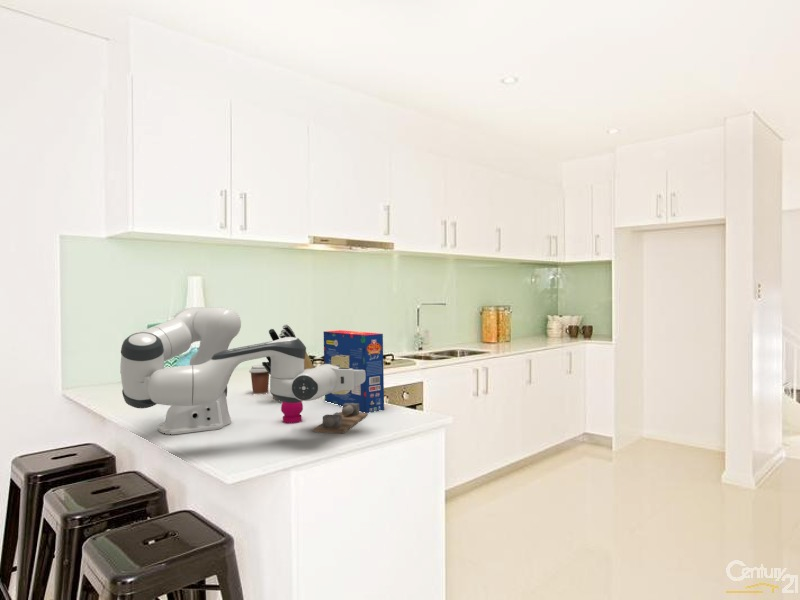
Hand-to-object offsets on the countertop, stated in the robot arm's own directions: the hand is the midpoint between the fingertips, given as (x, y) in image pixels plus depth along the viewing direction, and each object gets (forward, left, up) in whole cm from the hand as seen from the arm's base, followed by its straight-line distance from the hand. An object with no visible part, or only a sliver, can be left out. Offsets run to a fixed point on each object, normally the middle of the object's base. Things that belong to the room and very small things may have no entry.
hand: (341, 372), depth 178 cm
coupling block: (-1, -1, -7) cm, 7 cm away
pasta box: (+18, +21, -17) cm, 33 cm away
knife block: (+9, +53, -17) cm, 57 cm away
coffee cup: (+2, +70, -17) cm, 72 cm away
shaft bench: (0, 0, -17) cm, 17 cm away
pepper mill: (-11, +14, -17) cm, 25 cm away
